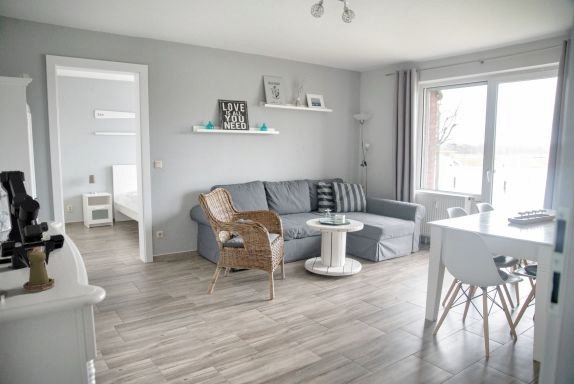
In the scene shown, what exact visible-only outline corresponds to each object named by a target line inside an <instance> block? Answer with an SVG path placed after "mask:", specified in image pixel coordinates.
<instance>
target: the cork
mask: <svg viewBox="0 0 574 384" xmlns="http://www.w3.org/2000/svg"><path fill="white" fill-rule="evenodd" d="M45 259H46V255H45V253H44V251H33V252H31V253H28V260H29V263H30V268H29V277H28V279H29V280H28V281H29V286H37V285H43V284H46V283H49V279H48V278H49V274H48V270H47V267H46V266H47V265H46V262H45Z"/></svg>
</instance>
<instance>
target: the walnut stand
mask: <svg viewBox="0 0 574 384" xmlns="http://www.w3.org/2000/svg"><path fill="white" fill-rule="evenodd" d="M48 279H49V283H46V284H43V285H37V286H29V280H28V281H26V282H24V284H23V286H22V287H23V290H24V292H25V293H38V292H44V291H48V290H50V289H53V288H54V286H55V279H54V278H50V277H48Z"/></svg>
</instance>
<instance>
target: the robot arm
mask: <svg viewBox="0 0 574 384" xmlns="http://www.w3.org/2000/svg"><path fill="white" fill-rule="evenodd" d="M25 177H26V176H25V172H23V171H22V170H2V171H1V172H0V188H1V189H2V190H3V191H4V192H5V193H6V199H7V207H8V216H9V221H10V222H9V223H10V230H9V231H8V233H7V239H6V240H5V241H2V242H1V243H0V257H1V258H8V257H10V259H11V260H10V261H11V264H10V265H8V266H7V268H9V269H10V268H11V269H15V270H18V269H22V268H28V269H30V262H29V260H28V256H29V252H32V251H33V250H34V249H35V248H41V247H44V249H43V252H44V253H45V255H46V259H45V260H44V262H45V266H48V264H49V259H50V254H51V253H52V252H54V250H59V249H62V248H63V247H64V243H65V240H66V239H65V236H64V234H61V233H60V234H52V235H50V237H49V239H45V240H43V238H44V235H43V234H44V233H47V232H48V231H49V225H48V221H41V222H40V223H38V221H37V219H38V217H39V213H40V212H39V210H40V209H41V205H40V203H39V202H38V201H37V200H36V199H34V198H33V196H31V195H29V194H28V193H27V190H26V189H27V188H26V187H25V181H26V179H25Z"/></svg>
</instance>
